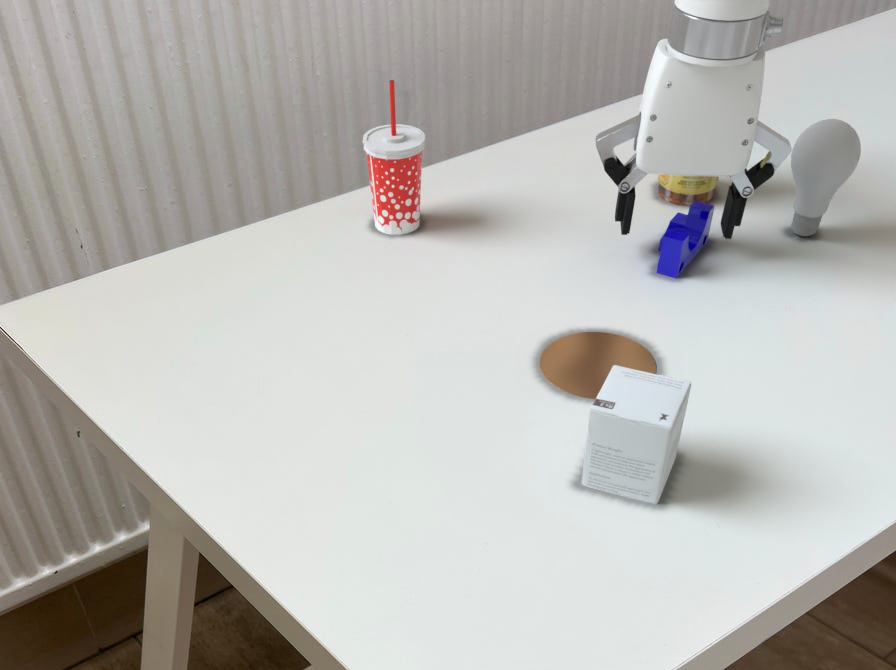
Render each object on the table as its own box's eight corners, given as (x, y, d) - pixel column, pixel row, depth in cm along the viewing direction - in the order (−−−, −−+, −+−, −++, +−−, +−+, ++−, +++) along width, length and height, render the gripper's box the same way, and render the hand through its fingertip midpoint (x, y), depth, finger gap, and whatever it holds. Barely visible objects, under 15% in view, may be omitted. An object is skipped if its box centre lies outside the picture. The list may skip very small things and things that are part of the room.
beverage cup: (438, 230, 100) (437, 84, 89) (387, 247, 98) (379, 99, 88) (407, 207, 104) (402, 63, 93) (357, 223, 102) (347, 78, 91)
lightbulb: (773, 218, 100) (803, 104, 92) (835, 226, 99) (871, 112, 90) (767, 246, 96) (797, 131, 88) (831, 255, 95) (868, 139, 87)
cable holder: (673, 236, 98) (680, 197, 95) (706, 245, 97) (714, 205, 94) (641, 272, 94) (648, 232, 91) (675, 281, 93) (683, 241, 90)
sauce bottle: (664, 178, 106) (700, -34, 91) (721, 189, 105) (767, -27, 89) (646, 204, 103) (681, -13, 88) (704, 216, 101) (750, -4, 86)
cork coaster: (634, 329, 88) (635, 325, 87) (671, 394, 81) (672, 390, 81) (527, 342, 87) (527, 338, 86) (555, 409, 80) (556, 405, 80)
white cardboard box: (676, 459, 76) (694, 379, 70) (656, 508, 72) (674, 428, 67) (600, 441, 77) (613, 361, 72) (577, 488, 74) (588, 408, 68)
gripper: (814, 17, 82) (761, 214, 95) (608, 12, 83) (583, 208, 96) (830, 51, 77) (771, 253, 91) (611, 45, 79) (585, 246, 92)
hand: (674, 230), depth 93 cm, fingers open, 9 cm apart
